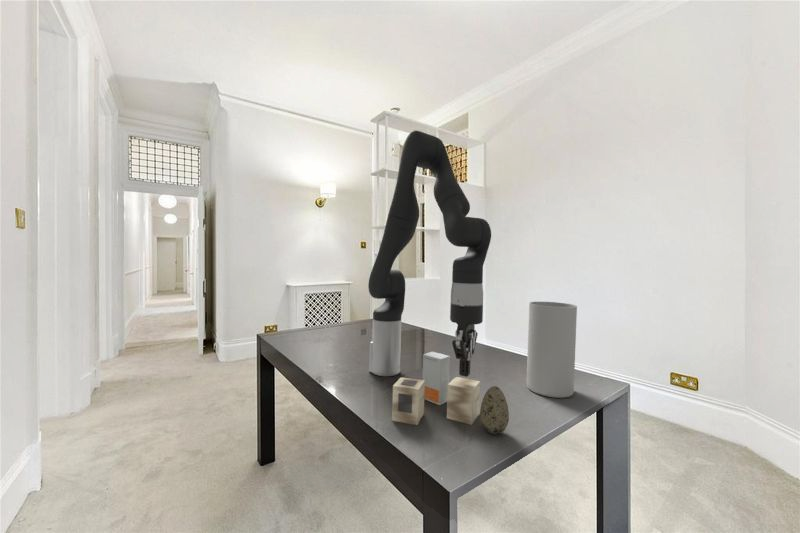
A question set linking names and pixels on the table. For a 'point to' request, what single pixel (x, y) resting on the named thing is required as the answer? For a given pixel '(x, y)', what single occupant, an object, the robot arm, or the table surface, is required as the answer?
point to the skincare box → (436, 377)
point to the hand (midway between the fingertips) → (464, 375)
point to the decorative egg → (494, 411)
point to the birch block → (463, 400)
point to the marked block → (408, 400)
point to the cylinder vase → (551, 348)
